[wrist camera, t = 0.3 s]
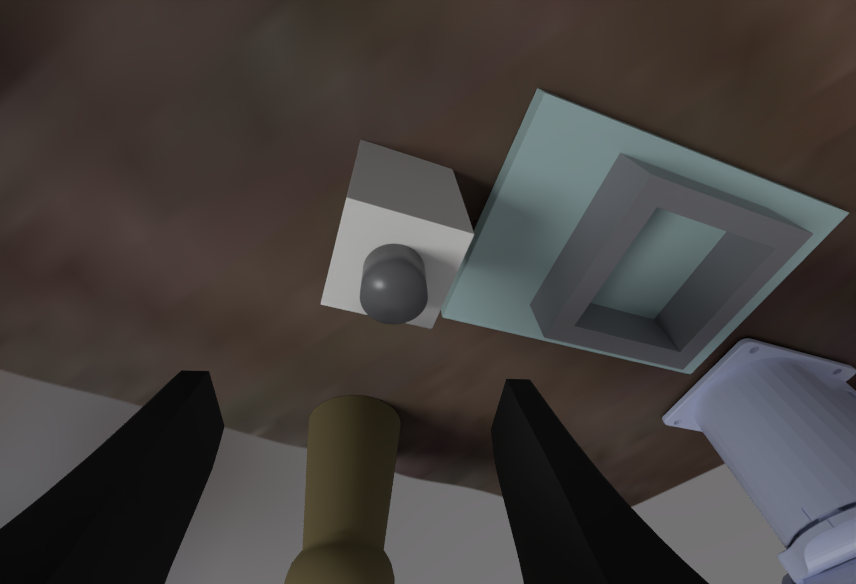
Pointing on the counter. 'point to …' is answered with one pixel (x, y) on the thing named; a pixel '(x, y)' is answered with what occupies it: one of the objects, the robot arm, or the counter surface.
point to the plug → (397, 238)
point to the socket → (627, 241)
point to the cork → (348, 493)
